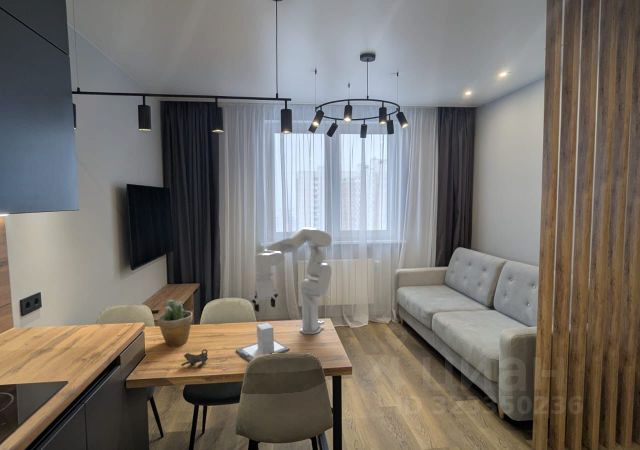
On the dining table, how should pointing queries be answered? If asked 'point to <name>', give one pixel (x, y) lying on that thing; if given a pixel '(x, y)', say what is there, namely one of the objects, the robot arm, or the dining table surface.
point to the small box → (265, 338)
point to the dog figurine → (196, 358)
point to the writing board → (253, 351)
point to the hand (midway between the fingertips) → (265, 308)
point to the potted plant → (175, 323)
